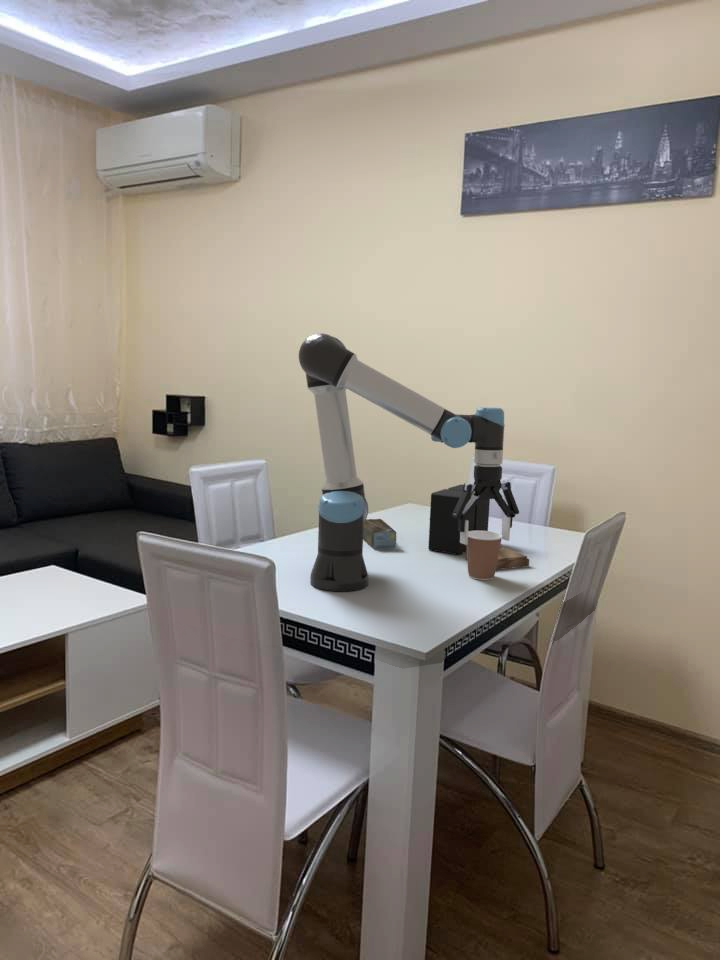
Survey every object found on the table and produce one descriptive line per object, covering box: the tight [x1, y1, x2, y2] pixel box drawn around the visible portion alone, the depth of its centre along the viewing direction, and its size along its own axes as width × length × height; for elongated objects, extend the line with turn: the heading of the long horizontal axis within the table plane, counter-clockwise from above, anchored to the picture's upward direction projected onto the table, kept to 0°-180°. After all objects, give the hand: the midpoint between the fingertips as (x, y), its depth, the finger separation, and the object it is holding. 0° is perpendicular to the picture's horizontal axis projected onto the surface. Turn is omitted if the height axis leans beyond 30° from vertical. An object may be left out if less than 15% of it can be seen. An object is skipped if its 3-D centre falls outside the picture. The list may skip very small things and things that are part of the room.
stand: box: [465, 547, 530, 570], centre depth 208 cm, size 14×12×3 cm
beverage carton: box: [363, 518, 397, 551], centre depth 229 cm, size 8×19×7 cm, turn 13°
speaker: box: [428, 484, 491, 556], centre depth 227 cm, size 25×11×19 cm, turn 149°
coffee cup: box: [466, 530, 503, 581], centre depth 192 cm, size 10×10×12 cm
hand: (484, 541), depth 191 cm, fingers open, 13 cm apart
